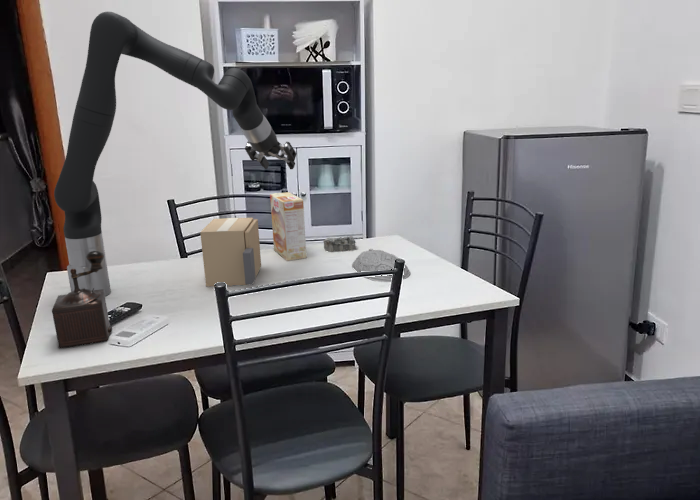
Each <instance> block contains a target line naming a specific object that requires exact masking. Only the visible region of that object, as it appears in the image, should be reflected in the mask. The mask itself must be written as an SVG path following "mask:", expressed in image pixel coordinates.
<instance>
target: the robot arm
mask: <svg viewBox="0 0 700 500" xmlns="http://www.w3.org/2000/svg"><path fill="white" fill-rule="evenodd" d="M122 55H125V56H127V57H130V58H136V59H139V60H142V61H144V62H146V63H149V64H151V65H153V66H155V67H157V68H158V69H160V70H162V71H164V72H165V73H167V74H168V75H170V76H171V77H173V78H176V79H178V80H179V81H182V82H183V83H185V84H188V85H190V86H192V87H194V88H196V89H198V90H199V91H201V92H202V93H203V94H204V95H206V96H207V97H209V98H210V99H211V100H212V101H213V102H215V103H214V104H216V105H218V106H219V107H220V108H222V109H225V110H229V111H231V112H232V116H233V118H234V119H235V121H236V122H237V124H238V126H239V127H240V129H241V132H242V134H243V135H244V136H245V138H246V139H247V142H246V144H245V147H244V150H245V152H246V154H247V155H248V156H249V159H250V160H251V161H252V162H253V161H257V162H258V163H260V166H262V168H264V170H268V168H269V166H270V163H269V161H268V159H267V158H271V157H272V158H277V159H278V160H280V161H281V160H283V161H284V162H285V163H286V164H287V166H288V168H289V170H294V168H295V166H296V161H295V160H296V157H297V154H298V153H297V151H296V150H295V149H294V147H293V146H292V144H291V142H290V141H285V143H280V142H279V140H278V138H277V135H276V133H275V131H274V130H273V126H271V124H270V122H269V121H268V119H267V117H266V116H265V115H264V114H263V112H262V110H261V108H260V107H259V105H258V104H257V103H258V102H257V97H256V95H255V94H256V93H255V89H254V86H253V83H252V80H251V78H250V77H249V76H248V74H247V73H246V72H245V71H244V70H242V69H241V68H238V67H230V68H229V69H227V70H226V71H225V72H224V73H223V75H222V77H221V79H220V81H219V82H218V84H217V83H215V82H214V81H213V79H214V75H215V67H214V65H213V64H211V63H210V62H209V61H207V60H204V59H202V58H200V57H198V56H196V55H194V54H193V53H190V52H187V51H185V50H182V49H181V48H178V47H175V46H172V45H170V44H168V43H166V42H163V41H162V40H160V39H157V38H156V37H154V36H152V35H151V34H149V33H147V32H146V31H144V30H143V29H141V28H140V27H139V26H137V25H136V24H135V23H133V22H132V21H131V20H130V19H129V18H127V17H125V16H123V15H121V14H118V13H117V12H112V11H104V12H100V13H99V14H98V15H97V16H95V18H94V20H93V21H92V23H91V26H90V32H89V40H88V48H87V55H86V56H87V57H86V63H85V68H84V72H83V76H82V79H81V84H80V89H79V93H78V97H77V100H76V103H75V109H74V112H73V116H72V120H71V121H72V123H71V127H70V131H69V137H68V143H67V150H66V155H65V160H64V162H63V166H62V168H61V171H60V174H59V177H58V180H57V182H56V184H55V187H54V191H53V195H54V196H53V197H54V201H55V204H56V205H57V207H58V208H60V210H62V211H63V212H64V225H63V236H64V241H65V247H66V252H67V258H68V259H67V260H68V265H67V266H66V270H67V276H68V281H69V282H68V283H69V287H70V292H71V291H74V289H75V288H74V282H73V278H71V273H70V270H71V269H76V274H78V273H82V272H87V271H90V268H91V264H90V263H89V261H88V260H87V259H86V256H87V254H88V253H89V252H91V251H100V252H102V253H103V255H104V259H103V260H102V262H101V266H102V267H103V269H100V270H99V271H97V273H96V272H93V273H90V274H88V275H85V276H81V277H78V278H77V281H78V286H79V288H80V289H83V288H85V289H88V290H93V288H94V290H100V289H104V294H105V297H106V296H109V295H110V294H111V293H112V290H111V283H110V276H109V271H108V263H107V257H106V252H105V246H104V238H103V237H104V236H103V231H102V210H101V202H100V196H99V190H98V187H97V184H96V183H95V181H94V176H95V170H96V167H97V163H98V162H99V159H100V157H101V154H102V152H103V151H104V148H105V146H106V144H107V142H108V140H109V137H110V134H111V131H112V128H113V124H114V120H115V116H116V111H117V92H116V72H117V68H118V65H119V61H120V58H121V56H122ZM266 157H267V158H266Z"/></svg>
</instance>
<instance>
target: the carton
mask: <svg viewBox="0 0 700 500" xmlns="http://www.w3.org/2000/svg"><path fill="white" fill-rule="evenodd" d="M253 220H254V217H228V218H227V217H226V218H213V219H212V220H210V222H209V223H208V224H207V225H206V226H205V227H204V228H203V229H202V230H200V234H199V235H200V244H201V250H202V251H201V253H202V261H203V269H204V280H205V287H208V288H209V287H215V286H214V284H215V283H217V282H225V283H226V284H227V285H229V286H228V287H233V286H232V285H245V273H244V262H243V252H244V251H245V249H246V241H245V232H246V230H247V229H248V227H249V226H250V225H251V223H252V222H253Z"/></svg>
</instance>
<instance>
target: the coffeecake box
mask: <svg viewBox="0 0 700 500" xmlns="http://www.w3.org/2000/svg"><path fill="white" fill-rule="evenodd" d="M269 199H270V200H269V201H270V211H271V212H270V213H271V224H272V225H271V227H272V241H273V251H275V252H276V253H277V254H278V255H279V256H280V257H281V258H283V259H284V260H285V261H287V262H290V261H297V260H302V259H303V260H304V259H307V244H306V243H307V242H306V228H305V227H306V225H305V211H304V210H305V207H304V199H303V198H300V197H299V196H297V195H295V194H293V193H292V192H289V191H287V192H276V193H270V194H269Z"/></svg>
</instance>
